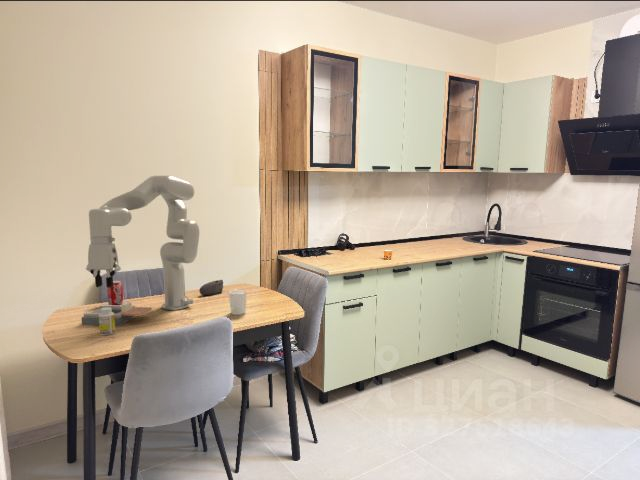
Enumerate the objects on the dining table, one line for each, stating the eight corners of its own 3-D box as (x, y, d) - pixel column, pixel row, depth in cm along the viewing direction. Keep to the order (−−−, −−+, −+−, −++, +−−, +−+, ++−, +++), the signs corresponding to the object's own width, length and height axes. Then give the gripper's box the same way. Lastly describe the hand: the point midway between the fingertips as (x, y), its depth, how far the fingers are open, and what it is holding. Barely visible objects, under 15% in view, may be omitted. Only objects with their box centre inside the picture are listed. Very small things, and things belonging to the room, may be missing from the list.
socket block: (137, 314, 196) (136, 304, 196) (118, 326, 181) (117, 315, 180) (103, 313, 198) (103, 304, 197) (82, 325, 182) (81, 314, 181)
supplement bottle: (111, 329, 177) (109, 305, 175) (117, 332, 173) (116, 308, 172) (97, 333, 172) (95, 308, 171) (103, 336, 169) (101, 311, 168)
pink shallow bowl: (151, 309, 192) (151, 300, 192) (141, 316, 182) (140, 307, 182) (130, 308, 193) (129, 300, 193) (118, 315, 183) (117, 306, 183)
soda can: (127, 303, 215) (125, 279, 213) (119, 307, 208) (117, 283, 206) (113, 303, 216) (112, 279, 214) (105, 307, 209) (103, 282, 207)
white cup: (249, 311, 202) (249, 290, 201) (241, 316, 195) (241, 294, 194) (235, 309, 205) (234, 289, 204) (226, 314, 198) (225, 293, 196)
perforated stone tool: (201, 297, 226) (201, 284, 225) (197, 295, 230) (196, 283, 229) (226, 292, 237) (226, 280, 236) (221, 290, 240) (221, 278, 239)
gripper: (126, 239, 171) (129, 284, 173) (87, 239, 172) (90, 283, 175) (116, 242, 163) (119, 289, 166) (74, 241, 165) (78, 288, 167)
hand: (104, 286), depth 170 cm, fingers open, 3 cm apart
